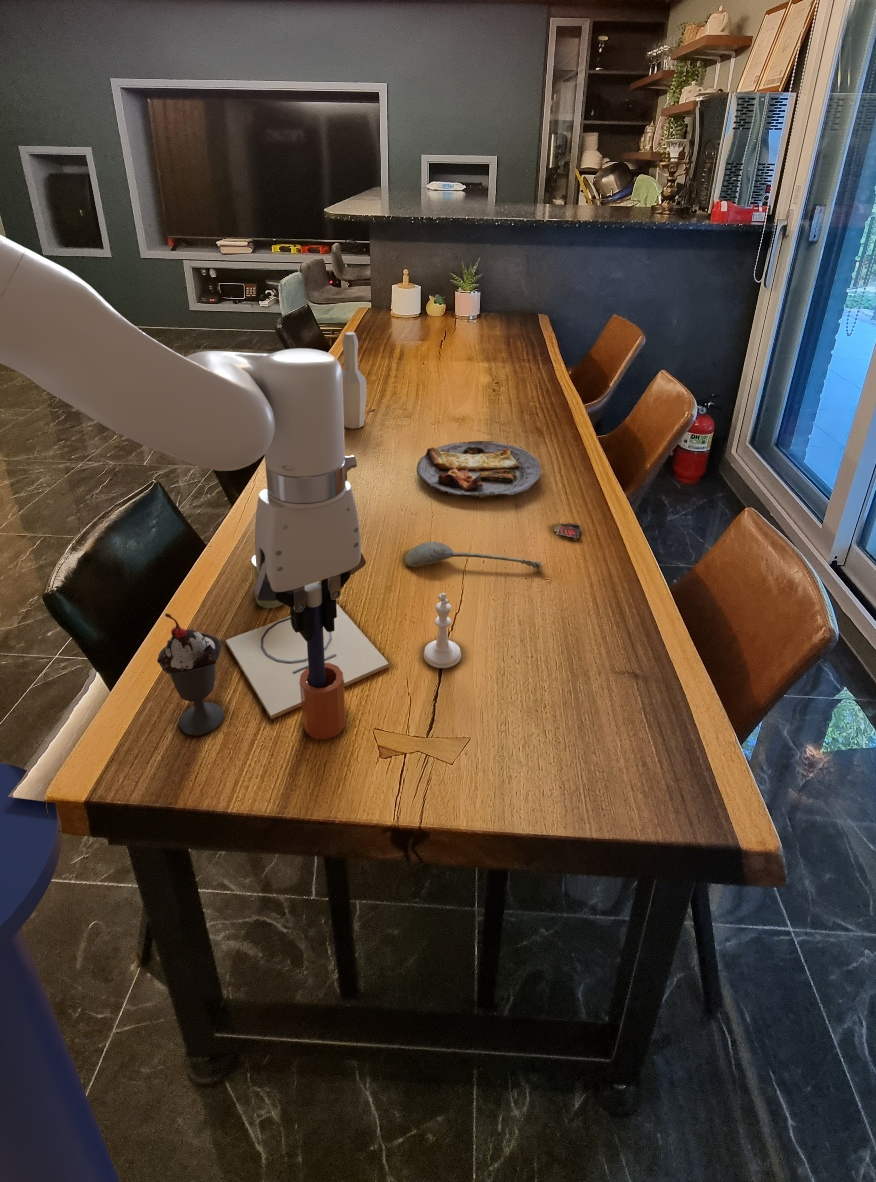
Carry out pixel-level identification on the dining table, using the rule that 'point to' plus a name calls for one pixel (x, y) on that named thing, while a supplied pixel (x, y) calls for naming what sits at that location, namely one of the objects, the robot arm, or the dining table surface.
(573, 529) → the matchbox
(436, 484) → the food plate
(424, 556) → the soupspoon
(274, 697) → the sketch pad
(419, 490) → the dining table surface
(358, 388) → the low poly bottle
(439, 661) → the chess piece
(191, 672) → the sundae
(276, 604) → the pen cup
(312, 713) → the pen pot
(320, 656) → the marker
